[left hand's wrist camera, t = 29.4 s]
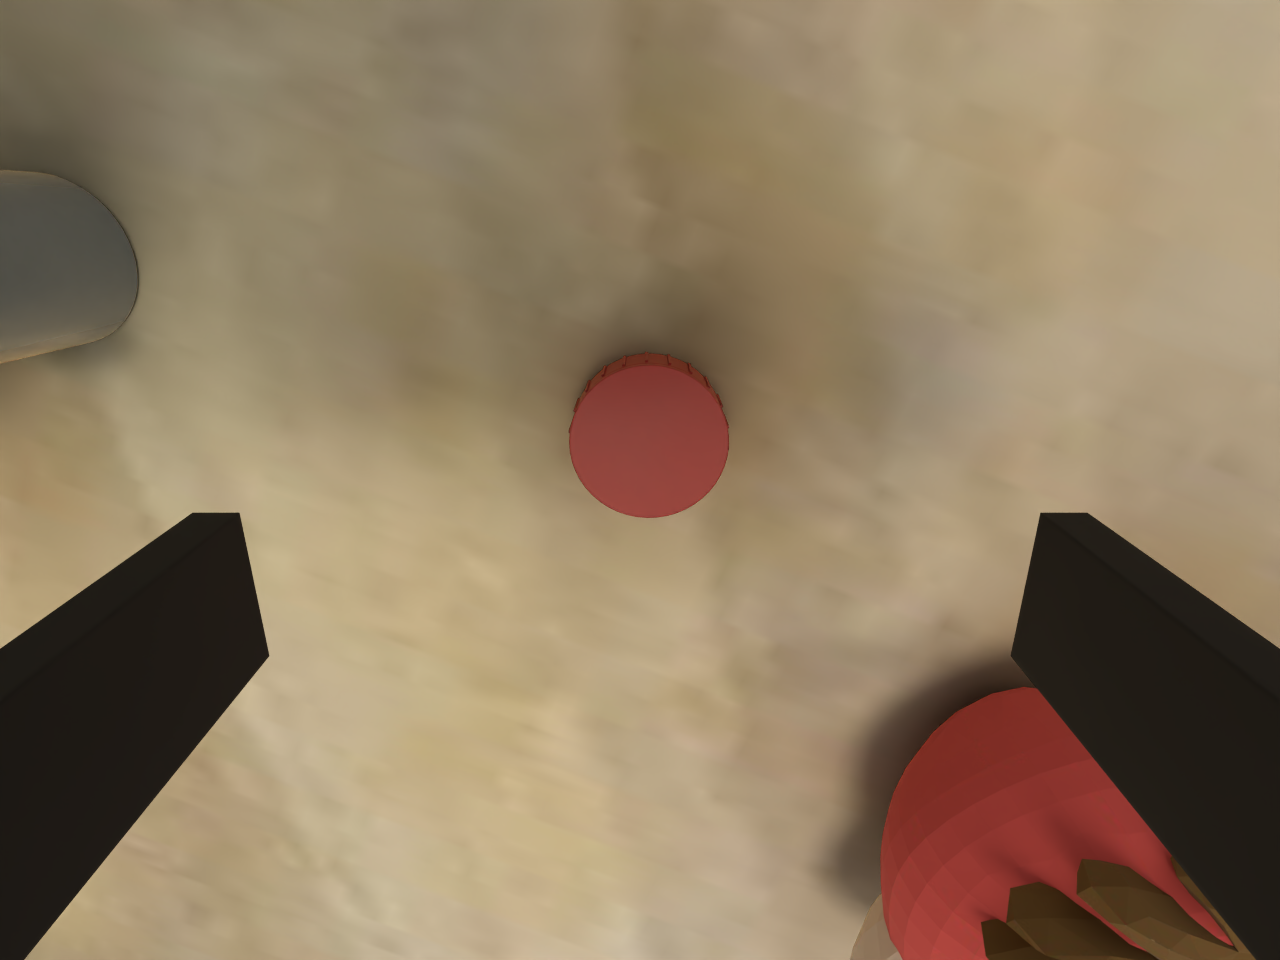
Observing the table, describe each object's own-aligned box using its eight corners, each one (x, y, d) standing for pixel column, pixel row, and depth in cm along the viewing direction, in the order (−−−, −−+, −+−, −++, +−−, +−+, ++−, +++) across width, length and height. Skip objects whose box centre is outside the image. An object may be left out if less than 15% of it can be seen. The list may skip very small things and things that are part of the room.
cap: (659, 524, 24) (660, 548, 23) (543, 436, 23) (534, 455, 22) (755, 416, 23) (764, 433, 21) (636, 319, 22) (636, 328, 20)
